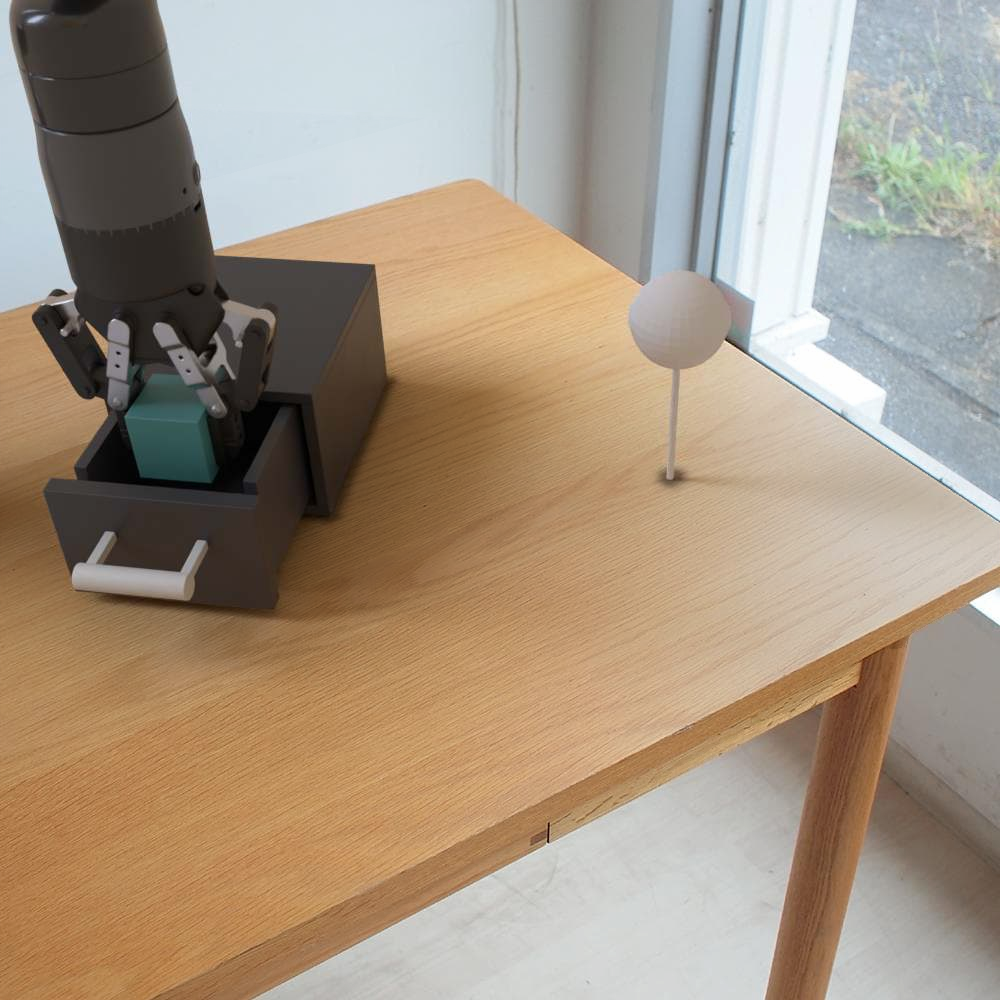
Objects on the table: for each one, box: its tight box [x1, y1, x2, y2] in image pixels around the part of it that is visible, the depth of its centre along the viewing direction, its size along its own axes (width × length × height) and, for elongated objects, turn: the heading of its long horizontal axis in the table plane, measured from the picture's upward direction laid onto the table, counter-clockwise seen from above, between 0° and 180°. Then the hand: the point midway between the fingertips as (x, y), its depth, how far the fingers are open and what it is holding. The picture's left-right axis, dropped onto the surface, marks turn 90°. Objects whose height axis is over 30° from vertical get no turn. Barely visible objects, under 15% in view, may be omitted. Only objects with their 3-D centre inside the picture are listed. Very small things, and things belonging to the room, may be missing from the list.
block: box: [125, 374, 221, 483], centre depth 77 cm, size 4×4×4 cm
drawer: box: [42, 401, 314, 612], centre depth 79 cm, size 19×12×8 cm, turn 170°
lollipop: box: [626, 269, 733, 481], centre depth 82 cm, size 6×6×15 cm
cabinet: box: [103, 254, 388, 517], centre depth 89 cm, size 16×14×10 cm
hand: (188, 453), depth 78 cm, fingers closed on block, 4 cm apart
